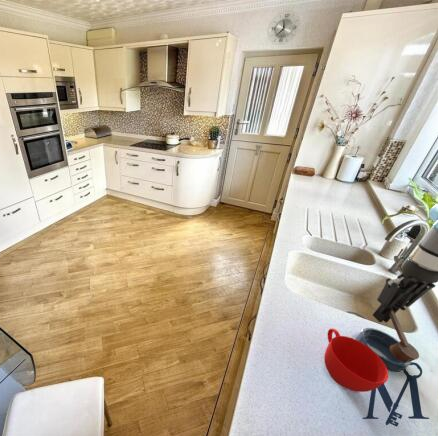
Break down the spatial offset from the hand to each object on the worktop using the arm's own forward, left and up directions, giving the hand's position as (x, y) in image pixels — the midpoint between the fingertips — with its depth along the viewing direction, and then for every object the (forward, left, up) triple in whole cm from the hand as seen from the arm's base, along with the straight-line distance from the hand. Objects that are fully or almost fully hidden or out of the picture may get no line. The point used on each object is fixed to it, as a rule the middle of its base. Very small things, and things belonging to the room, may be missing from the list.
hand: (379, 318), depth 76 cm
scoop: (0, +4, -3) cm, 5 cm away
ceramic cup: (+18, +11, -10) cm, 23 cm away
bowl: (0, +6, -10) cm, 12 cm away
